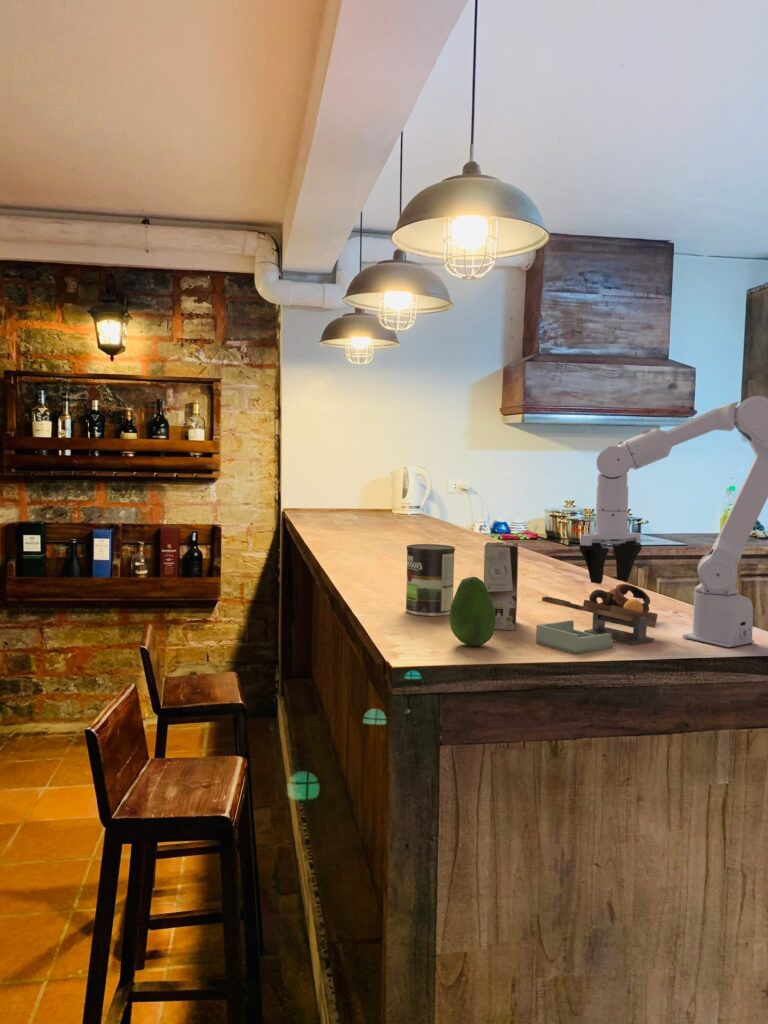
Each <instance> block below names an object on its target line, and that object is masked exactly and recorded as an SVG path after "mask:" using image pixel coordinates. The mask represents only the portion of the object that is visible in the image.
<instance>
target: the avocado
mask: <svg viewBox="0 0 768 1024" xmlns="http://www.w3.org/2000/svg"><path fill="white" fill-rule="evenodd" d="M456 589H457V590H456V591H455V594H454V595H453V602H452V604H451V609H450V615H448V619H449V625H450V630H451V632H452V634H453V635H454V637H455V638H456V639H458V640H459V642H461V643H462V644H464V645H466V646H471V647H479V646H482V645H485V644H486V643H487V642H489V641H490V640H491V638H492V637H493V636H494V632H495V629H494V628H495V624H496V617H495V609H494V606H493V603H492V600H491V597H490V595H489V593H488V590H487V588H486V586H485V584H484V580H481V578H479V577H476V576H468V577H465V578H462V580H461V581H460V583H459V584H458V587H457V588H456Z"/></svg>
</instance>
